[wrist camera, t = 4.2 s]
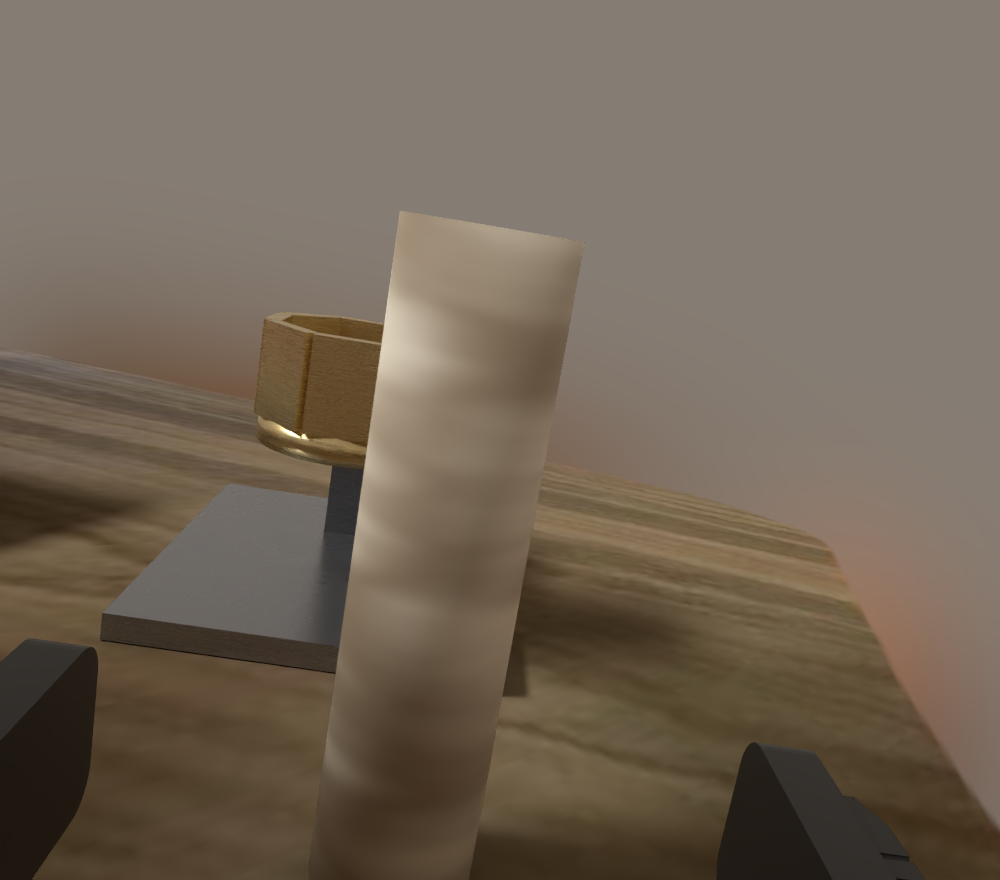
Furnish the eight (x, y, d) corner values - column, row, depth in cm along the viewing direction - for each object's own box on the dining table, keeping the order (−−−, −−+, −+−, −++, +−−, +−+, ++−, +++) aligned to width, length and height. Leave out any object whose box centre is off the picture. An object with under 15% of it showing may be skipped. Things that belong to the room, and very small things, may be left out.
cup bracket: (497, 695, 34) (554, 379, 31) (99, 639, 33) (126, 310, 30) (490, 541, 50) (527, 327, 48) (226, 501, 49) (250, 282, 47)
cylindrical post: (274, 877, 23) (362, 204, 19) (372, 803, 26) (460, 221, 23) (410, 957, 21) (533, 233, 18) (496, 866, 25) (612, 247, 21)
